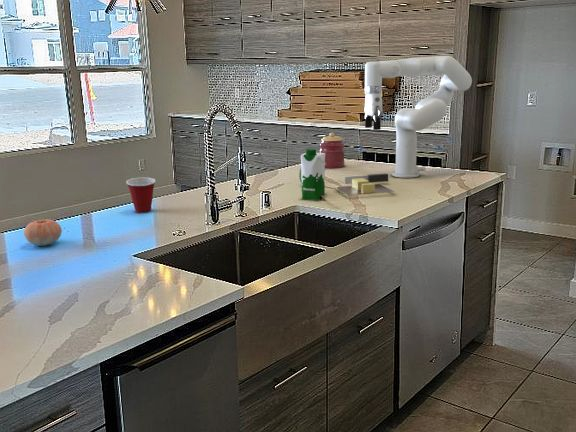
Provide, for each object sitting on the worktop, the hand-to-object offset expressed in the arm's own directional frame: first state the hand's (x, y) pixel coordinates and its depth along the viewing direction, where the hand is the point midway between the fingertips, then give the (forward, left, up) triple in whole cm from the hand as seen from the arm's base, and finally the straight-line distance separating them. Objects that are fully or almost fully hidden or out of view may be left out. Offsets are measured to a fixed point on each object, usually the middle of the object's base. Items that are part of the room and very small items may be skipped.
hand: (372, 128), depth 267 cm
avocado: (+32, +4, -24) cm, 40 cm away
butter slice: (+15, +32, -22) cm, 42 cm away
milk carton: (+37, +28, -24) cm, 52 cm away
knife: (+8, +12, -23) cm, 27 cm away
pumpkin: (+135, +60, -24) cm, 150 cm away
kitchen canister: (+6, -39, -24) cm, 46 cm away
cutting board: (+14, +26, -23) cm, 38 cm away
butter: (+15, +23, -22) cm, 35 cm away
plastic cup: (+104, +27, -24) cm, 110 cm away
